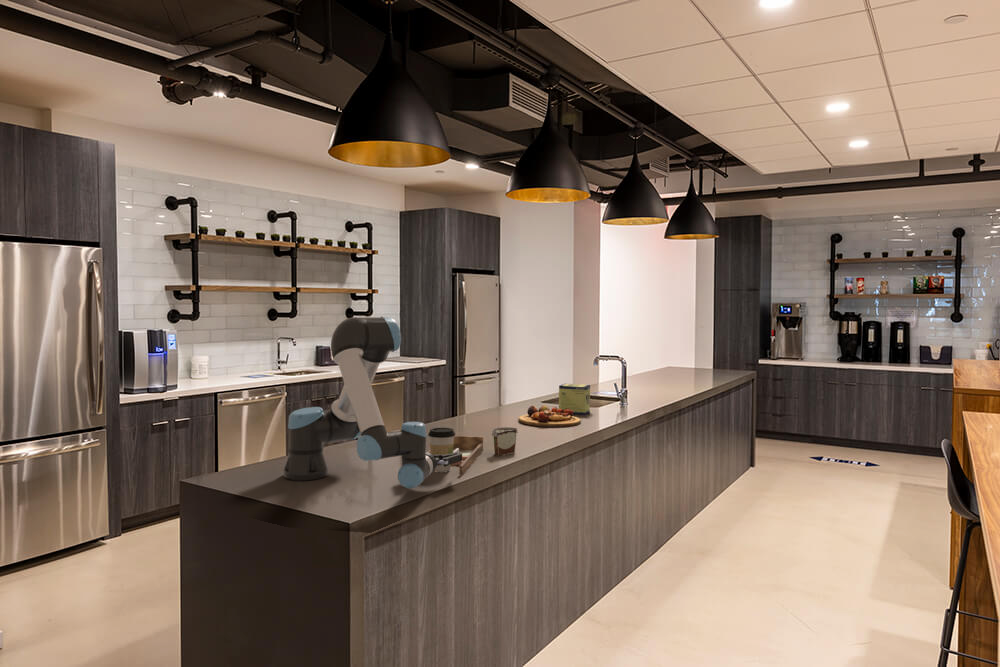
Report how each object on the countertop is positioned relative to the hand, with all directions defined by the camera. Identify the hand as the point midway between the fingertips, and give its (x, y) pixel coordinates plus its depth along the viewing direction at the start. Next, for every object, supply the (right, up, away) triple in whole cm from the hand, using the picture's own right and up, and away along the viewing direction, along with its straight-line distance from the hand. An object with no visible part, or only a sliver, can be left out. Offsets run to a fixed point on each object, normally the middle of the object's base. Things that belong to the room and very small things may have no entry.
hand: (439, 451), depth 242 cm
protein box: (+63, -2, +136) cm, 150 cm away
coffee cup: (0, -8, +6) cm, 11 cm away
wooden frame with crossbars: (+2, -7, +19) cm, 21 cm away
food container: (+22, -7, +35) cm, 42 cm away
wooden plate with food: (+47, -4, +107) cm, 117 cm away
